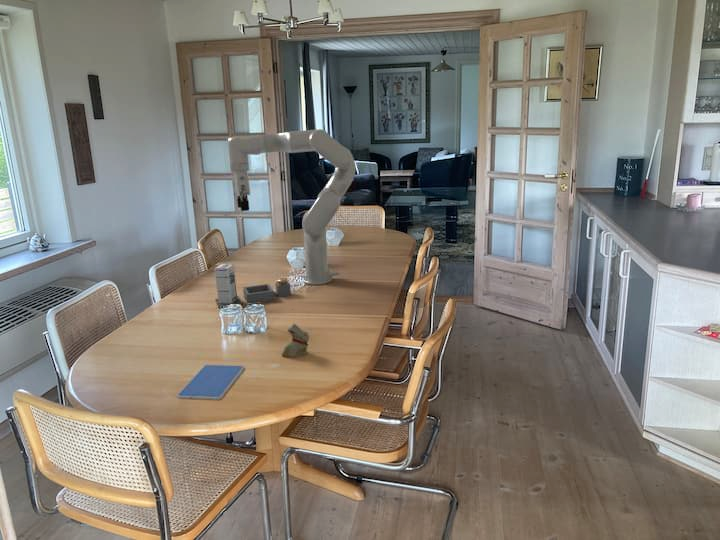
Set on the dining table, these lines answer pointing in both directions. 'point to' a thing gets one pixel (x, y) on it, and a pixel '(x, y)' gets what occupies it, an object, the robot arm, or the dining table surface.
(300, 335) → the chocolate bunny
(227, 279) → the syrup box
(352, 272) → the dining table surface
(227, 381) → the tablet computer
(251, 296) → the housing
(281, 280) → the plunger
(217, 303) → the mat
